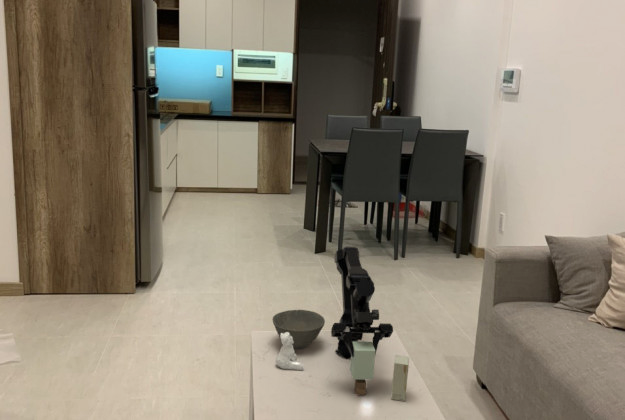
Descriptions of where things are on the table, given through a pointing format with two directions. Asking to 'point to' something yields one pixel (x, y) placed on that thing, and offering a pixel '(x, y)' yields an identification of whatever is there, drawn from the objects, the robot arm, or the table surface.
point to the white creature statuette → (288, 354)
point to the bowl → (299, 326)
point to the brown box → (360, 386)
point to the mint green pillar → (362, 360)
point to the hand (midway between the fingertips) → (363, 357)
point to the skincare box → (400, 377)
